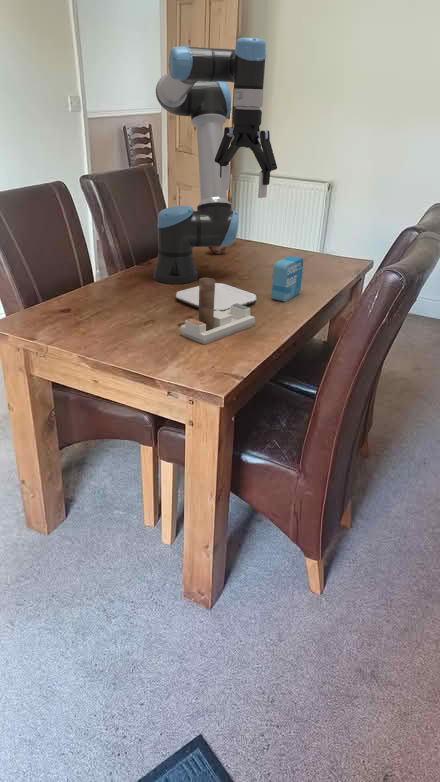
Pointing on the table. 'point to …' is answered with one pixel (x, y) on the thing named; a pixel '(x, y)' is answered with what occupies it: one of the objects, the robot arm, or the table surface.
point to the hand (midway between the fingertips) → (243, 194)
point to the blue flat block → (287, 278)
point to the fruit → (218, 249)
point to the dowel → (206, 302)
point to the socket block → (219, 324)
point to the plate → (218, 297)
